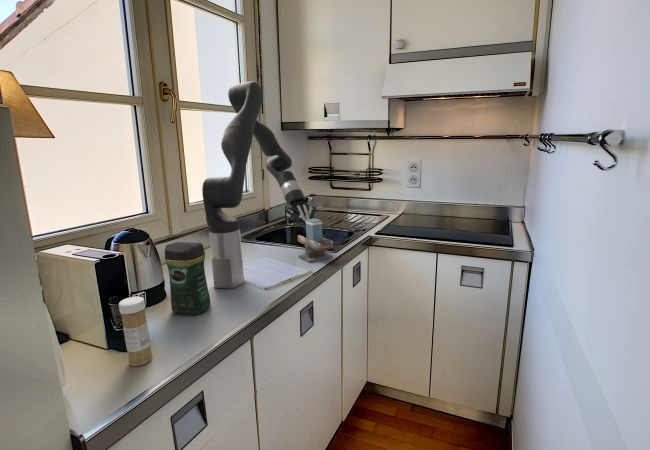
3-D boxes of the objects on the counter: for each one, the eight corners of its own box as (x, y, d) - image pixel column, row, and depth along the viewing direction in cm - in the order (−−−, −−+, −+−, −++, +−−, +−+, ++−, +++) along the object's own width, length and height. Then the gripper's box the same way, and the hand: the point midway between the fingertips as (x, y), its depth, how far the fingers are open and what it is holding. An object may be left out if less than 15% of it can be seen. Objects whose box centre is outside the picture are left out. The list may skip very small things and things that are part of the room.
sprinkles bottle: (145, 352, 81) (136, 293, 78) (157, 359, 79) (148, 298, 76) (124, 362, 78) (113, 301, 75) (135, 370, 75) (125, 307, 72)
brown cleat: (338, 260, 138) (337, 240, 136) (314, 265, 133) (313, 245, 131) (315, 250, 151) (315, 232, 150) (293, 254, 146) (292, 236, 144)
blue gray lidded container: (322, 241, 140) (322, 220, 138) (313, 243, 138) (312, 222, 136) (315, 238, 144) (315, 218, 142) (306, 240, 142) (305, 219, 140)
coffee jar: (215, 304, 104) (209, 239, 100) (198, 318, 96) (190, 247, 92) (185, 301, 106) (177, 237, 102) (166, 314, 99) (157, 245, 95)
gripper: (280, 190, 144) (297, 227, 136) (310, 187, 150) (328, 222, 143) (275, 202, 149) (291, 238, 142) (304, 198, 156) (321, 233, 149)
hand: (309, 230), depth 142 cm, fingers closed
